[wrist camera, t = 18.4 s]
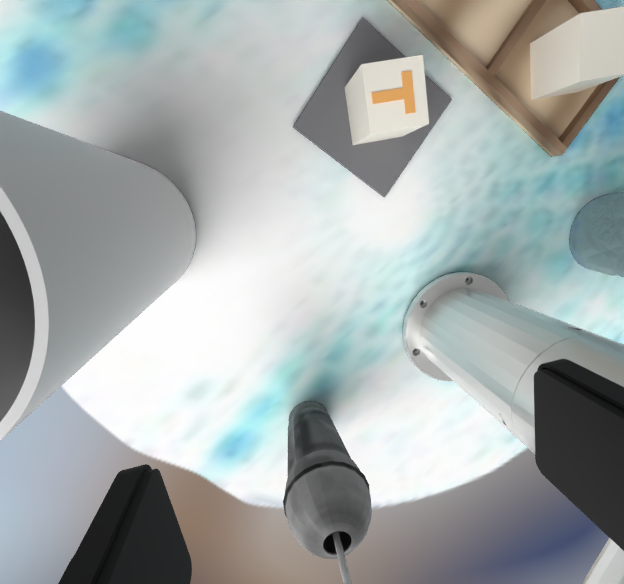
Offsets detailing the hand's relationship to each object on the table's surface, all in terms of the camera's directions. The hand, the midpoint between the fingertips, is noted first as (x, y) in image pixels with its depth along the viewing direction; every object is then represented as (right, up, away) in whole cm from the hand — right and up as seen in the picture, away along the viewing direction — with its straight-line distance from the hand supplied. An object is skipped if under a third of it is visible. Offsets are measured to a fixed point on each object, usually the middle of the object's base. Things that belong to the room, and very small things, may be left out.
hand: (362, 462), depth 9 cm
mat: (+5, +21, +25) cm, 33 cm away
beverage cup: (-2, -10, +32) cm, 34 cm away
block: (+23, +26, +26) cm, 43 cm away
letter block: (+5, +21, +25) cm, 33 cm away
